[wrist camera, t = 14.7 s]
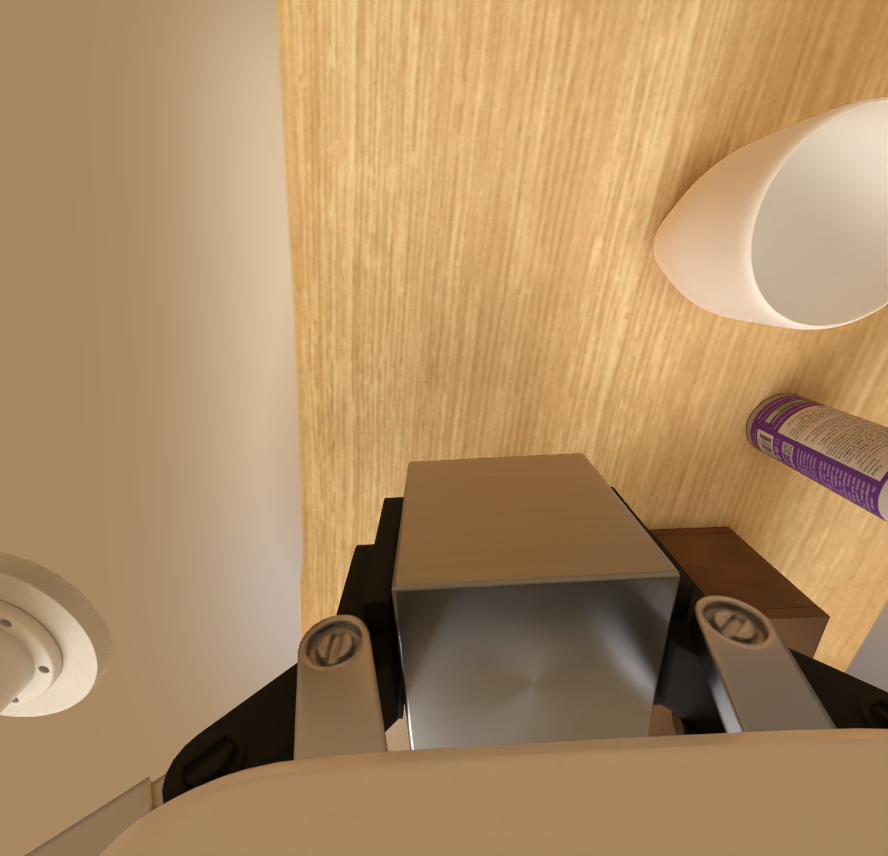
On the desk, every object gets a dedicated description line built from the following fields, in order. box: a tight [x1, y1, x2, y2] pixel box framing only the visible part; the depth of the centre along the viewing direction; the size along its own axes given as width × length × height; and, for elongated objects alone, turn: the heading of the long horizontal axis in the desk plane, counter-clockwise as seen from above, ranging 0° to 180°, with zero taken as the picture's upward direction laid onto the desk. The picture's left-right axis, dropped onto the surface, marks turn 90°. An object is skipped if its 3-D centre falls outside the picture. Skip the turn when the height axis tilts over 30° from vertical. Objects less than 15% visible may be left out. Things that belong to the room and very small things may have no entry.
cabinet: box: [647, 527, 830, 737], centre depth 32 cm, size 15×13×10 cm
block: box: [391, 453, 680, 750], centre depth 10 cm, size 5×5×5 cm
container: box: [746, 394, 888, 522], centre depth 24 cm, size 5×5×15 cm
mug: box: [653, 97, 888, 330], centre depth 21 cm, size 12×8×11 cm
